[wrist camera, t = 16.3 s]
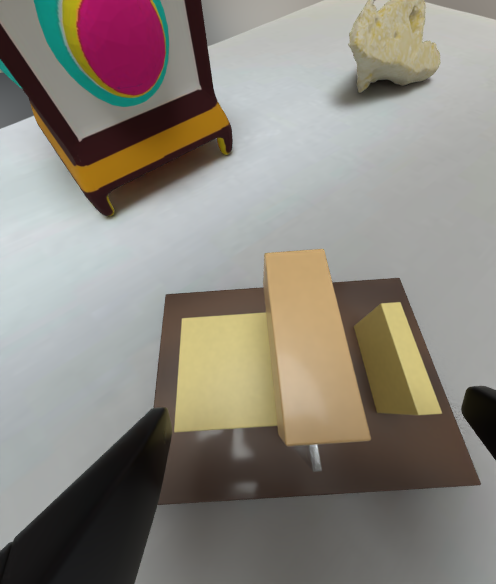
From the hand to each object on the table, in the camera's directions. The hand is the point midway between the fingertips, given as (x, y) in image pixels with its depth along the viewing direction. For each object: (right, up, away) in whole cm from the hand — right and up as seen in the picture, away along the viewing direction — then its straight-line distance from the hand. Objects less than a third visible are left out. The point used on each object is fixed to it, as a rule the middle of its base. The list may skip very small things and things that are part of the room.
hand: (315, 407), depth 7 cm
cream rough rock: (+17, +33, +28) cm, 47 cm away
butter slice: (+7, -2, +10) cm, 12 cm away
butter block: (-1, -2, +10) cm, 10 cm away
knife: (0, -1, +8) cm, 8 cm away
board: (+1, -3, +11) cm, 11 cm away
